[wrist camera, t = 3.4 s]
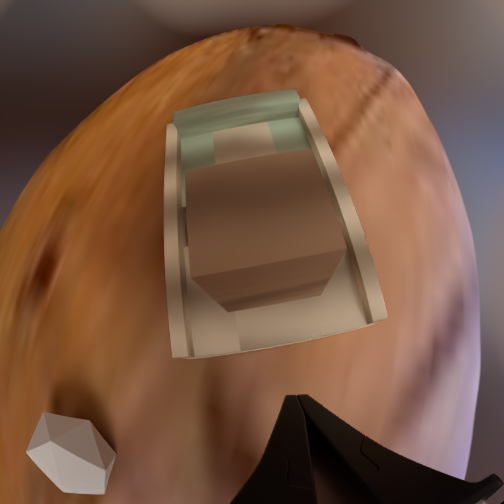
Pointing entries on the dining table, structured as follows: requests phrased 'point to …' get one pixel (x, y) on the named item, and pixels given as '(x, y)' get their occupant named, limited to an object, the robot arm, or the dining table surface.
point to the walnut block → (262, 230)
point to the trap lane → (176, 240)
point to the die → (72, 454)
